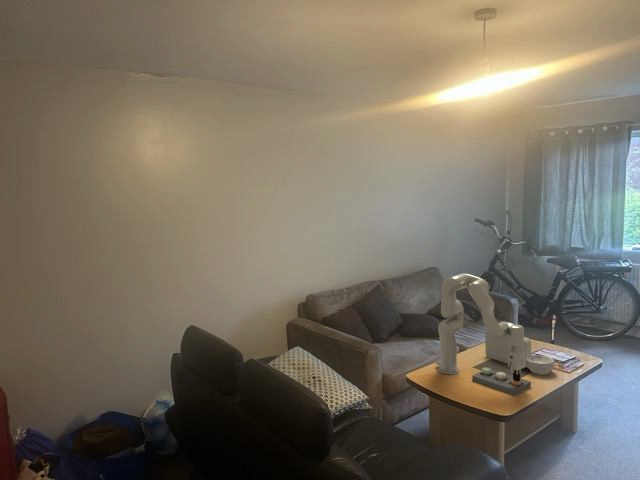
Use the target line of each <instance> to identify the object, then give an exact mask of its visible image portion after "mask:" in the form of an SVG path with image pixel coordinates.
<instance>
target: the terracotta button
mask: <svg viewBox="0 0 640 480" xmlns="http://www.w3.org/2000/svg"><path fill="white" fill-rule="evenodd" d="M511 385H514V386H517V387H519V386H521V380H520V381H515V380H513V379H511Z"/></svg>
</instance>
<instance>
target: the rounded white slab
mask: <svg viewBox="0 0 640 480" xmlns="http://www.w3.org/2000/svg"><path fill="white" fill-rule="evenodd" d="M484 334H485V336H484V337H485V339H484V340H485V343H484V344H485V356H486V357H487V358H489V359H492V360H496V361H499V362H501V363H505V364H507V365H508V358H509V335H508V336H505V337H503V338H501V339H496V338H494V337H493V336H492V335H491V334H490V333H489V331H488V330H486V331H485V333H484ZM531 341H532V340H531V339H530V338H528V337H525V336H524V351H525V360H526V357H528V356H531V355H532V342H531ZM525 368H527V367H526V366H525V367H524V368H523V369H525Z"/></svg>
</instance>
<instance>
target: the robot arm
mask: <svg viewBox="0 0 640 480" xmlns="http://www.w3.org/2000/svg"><path fill="white" fill-rule="evenodd" d="M465 288H466V289H467V290H468V293H469V294H470V297H471V298H472V299H473V301H474V303H475V304H476V305H477V307H478V308H479V311H480V313H481V318H482V322H483V325H484V327H485V328H486V331H489V333H490V334H491V335H492V336H493V337H494V338H496V339H501V338H503V337H505V336H508V335H509V358H508V364H507V365H508V369H510V370H509V373H512V376H513V380H515V381H520V378H521V373H522V371H521V370H522V369H525V368H524V367H525V366H526V360H525V351H524V337H525V327H524V326H523V325H520V324H517V323H516V324H513V323H511V322H508V321H500V322H498V321H497V319H496V317H495V311H494V309H495V302H494V300H493V298H492V297H491V296H490V294H489V293H488V291H489V290H490V284H489V283H488V281H487V280H485V279H483V278H481V277H477V276H474V275H472V274H468V273H459V274H456V275H453V276H450V277H448V278H446V279H445V280H443V281H442V284H441V296H440V297H441V300H440V301H441V302H440V303H441V304H440V313H441V315H442V317H443V318H445V319H444V320H442V321H440V322H439V324H438V327H437V329H438V336H439V355H440V356H439V359H437V360H436V362H435V365H438V367H437V371H438V372H439V373H441V374H443V375H450V376H451V375H456V374H458V373H460V368H459V367H458V365H457V362H458V361H457V340H456V339H457V338H456V336H455V334H457V333H459V332H460V331H461V330H462V329H463V326H464V306H463V304H462V302H461V300H458V299H457V293H456V291H460V290H463V289H465Z"/></svg>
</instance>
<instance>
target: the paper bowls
mask: <svg viewBox="0 0 640 480" xmlns="http://www.w3.org/2000/svg"><path fill="white" fill-rule="evenodd" d="M526 368H527V369H529V371H530V372H531V373H532V374H535V375H540V376H542V375H544V376H545V375H546V376H547V375H549V374H550V372H552V371H554V370H555V369H554V368H555V361H554V359H553V358H551V357H549V356H546V355H542V354H541V355H539V354H531V356H528V357H526Z"/></svg>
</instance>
